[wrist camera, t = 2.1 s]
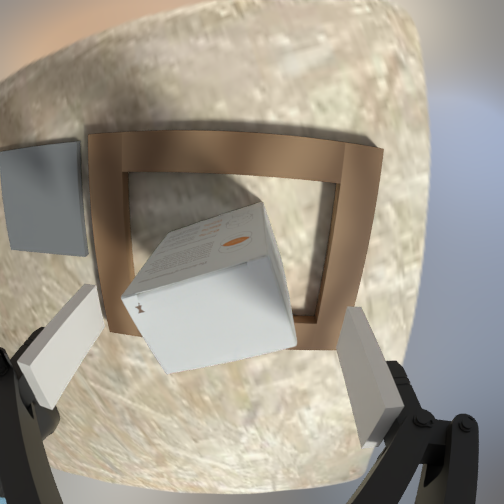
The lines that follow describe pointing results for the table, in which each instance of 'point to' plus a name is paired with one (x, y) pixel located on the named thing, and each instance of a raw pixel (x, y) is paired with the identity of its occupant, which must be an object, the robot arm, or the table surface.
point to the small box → (214, 293)
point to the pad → (44, 199)
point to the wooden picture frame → (241, 163)
